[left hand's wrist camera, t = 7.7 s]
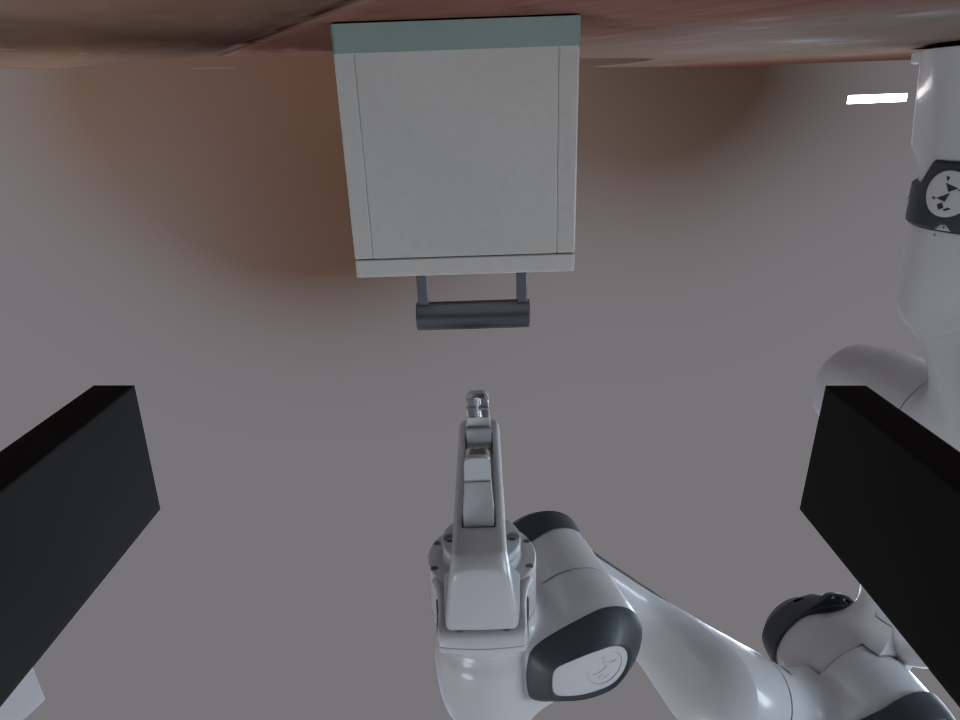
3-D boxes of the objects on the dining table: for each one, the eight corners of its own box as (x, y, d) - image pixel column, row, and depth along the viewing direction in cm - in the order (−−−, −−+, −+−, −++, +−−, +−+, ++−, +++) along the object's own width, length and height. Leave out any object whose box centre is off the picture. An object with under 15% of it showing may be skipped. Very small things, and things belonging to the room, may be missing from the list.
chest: (543, 47, 41) (542, 201, 45) (385, 53, 41) (397, 205, 45) (580, 14, 26) (575, 252, 29) (329, 23, 26) (354, 259, 30)
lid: (541, 200, 45) (541, 311, 48) (398, 205, 45) (407, 315, 48) (575, 253, 29) (571, 413, 32) (355, 260, 30) (371, 419, 33)
